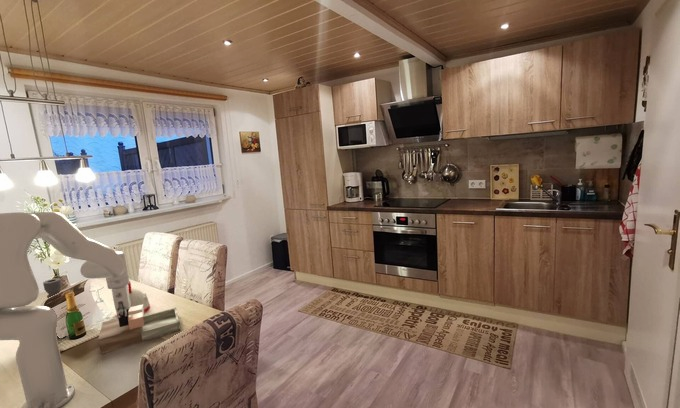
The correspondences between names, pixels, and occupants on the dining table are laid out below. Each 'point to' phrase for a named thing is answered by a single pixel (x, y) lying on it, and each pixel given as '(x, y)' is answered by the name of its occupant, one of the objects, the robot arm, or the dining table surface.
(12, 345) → the dining table surface
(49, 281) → the candle holder
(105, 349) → the stepped long block
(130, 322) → the salmon pink block
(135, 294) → the white dome with stick
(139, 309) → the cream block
